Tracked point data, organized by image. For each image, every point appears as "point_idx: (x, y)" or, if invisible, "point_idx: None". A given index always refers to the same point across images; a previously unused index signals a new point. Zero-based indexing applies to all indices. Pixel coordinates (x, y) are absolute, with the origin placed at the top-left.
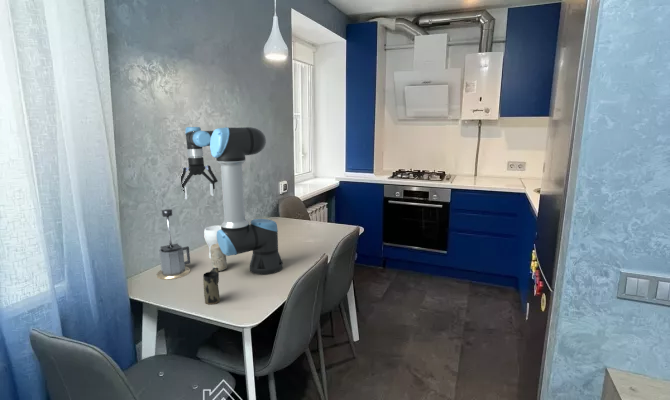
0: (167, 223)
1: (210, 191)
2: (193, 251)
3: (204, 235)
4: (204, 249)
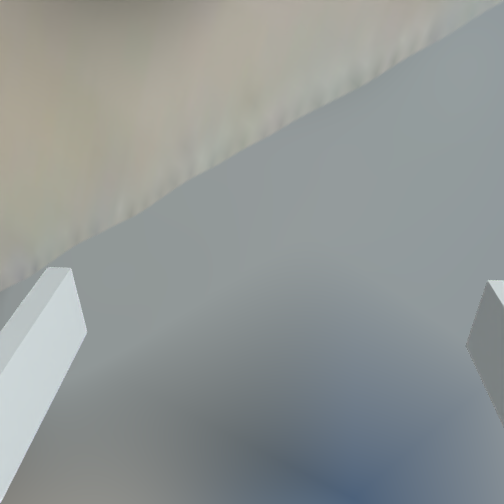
0: None
1: (60, 370)
2: (358, 54)
3: None
4: (287, 48)
